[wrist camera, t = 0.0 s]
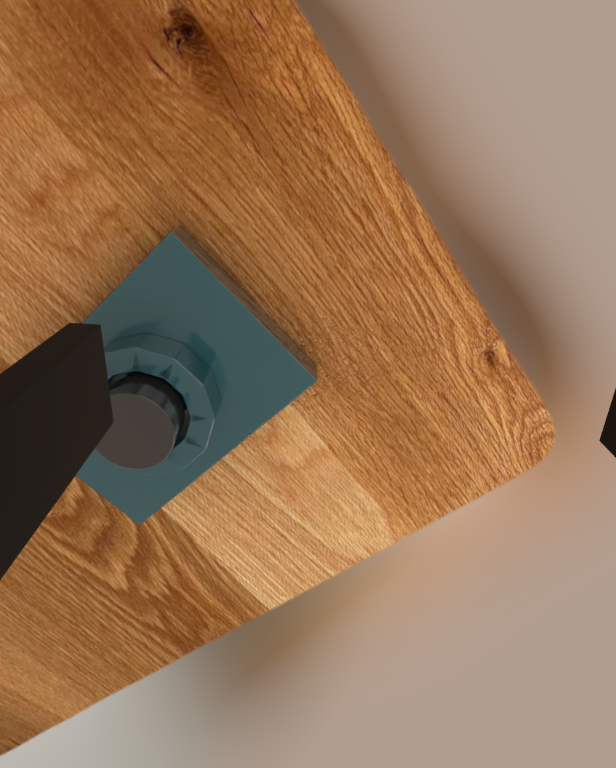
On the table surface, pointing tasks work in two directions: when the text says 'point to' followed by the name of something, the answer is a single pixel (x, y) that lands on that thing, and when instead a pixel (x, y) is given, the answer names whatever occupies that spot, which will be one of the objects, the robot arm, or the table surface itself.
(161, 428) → the dark grey round knob
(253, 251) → the table surface
